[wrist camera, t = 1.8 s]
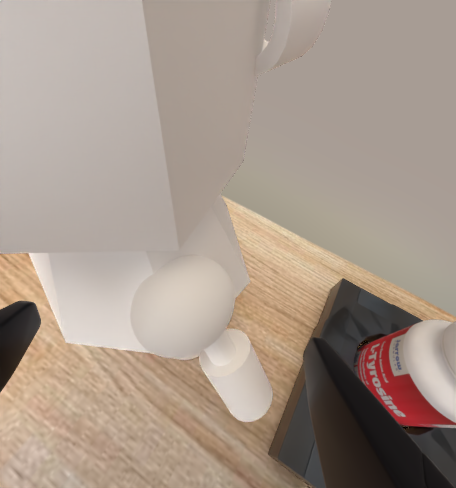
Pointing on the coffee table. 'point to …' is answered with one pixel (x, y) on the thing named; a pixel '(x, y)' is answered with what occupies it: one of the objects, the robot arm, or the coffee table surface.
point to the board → (345, 344)
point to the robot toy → (139, 168)
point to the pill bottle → (413, 373)
